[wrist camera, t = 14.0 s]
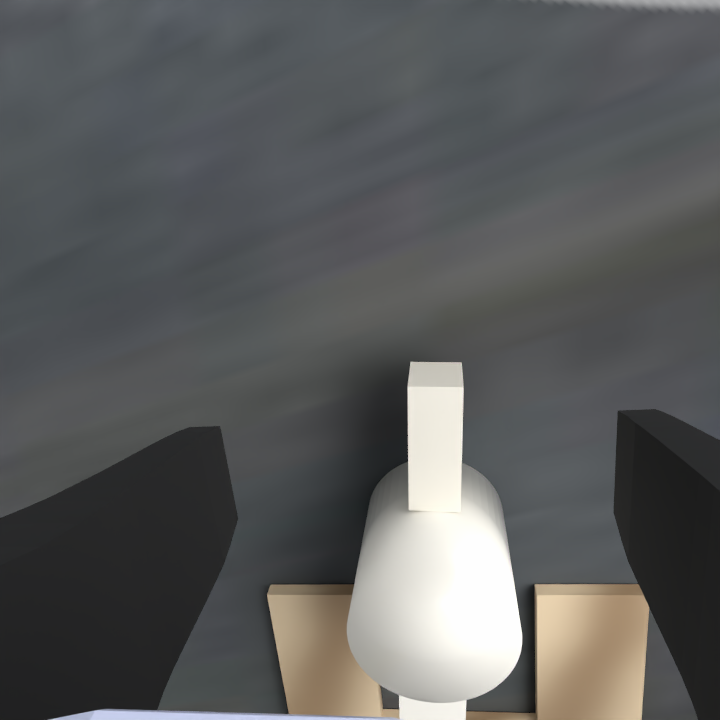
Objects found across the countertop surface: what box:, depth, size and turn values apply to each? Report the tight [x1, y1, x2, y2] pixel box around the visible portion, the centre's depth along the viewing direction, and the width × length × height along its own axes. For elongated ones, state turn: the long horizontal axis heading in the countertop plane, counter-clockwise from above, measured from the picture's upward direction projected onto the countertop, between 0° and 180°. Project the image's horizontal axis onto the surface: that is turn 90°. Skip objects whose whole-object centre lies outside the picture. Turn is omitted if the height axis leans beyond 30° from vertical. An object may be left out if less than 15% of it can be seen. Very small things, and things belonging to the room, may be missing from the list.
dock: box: [267, 584, 649, 720], centre depth 26 cm, size 14×10×1 cm
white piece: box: [347, 362, 522, 720], centre depth 21 cm, size 10×5×6 cm, turn 2°
